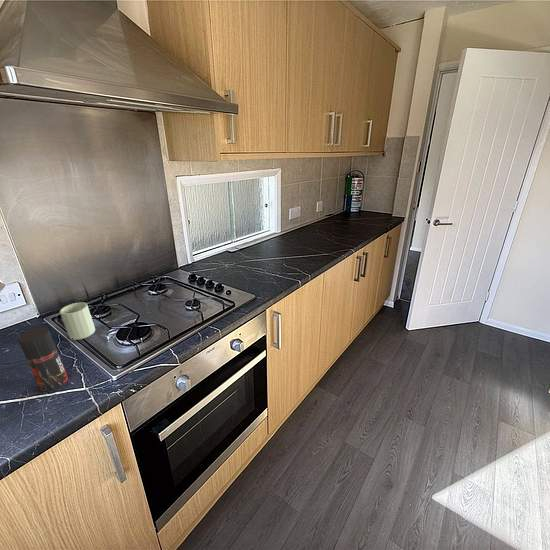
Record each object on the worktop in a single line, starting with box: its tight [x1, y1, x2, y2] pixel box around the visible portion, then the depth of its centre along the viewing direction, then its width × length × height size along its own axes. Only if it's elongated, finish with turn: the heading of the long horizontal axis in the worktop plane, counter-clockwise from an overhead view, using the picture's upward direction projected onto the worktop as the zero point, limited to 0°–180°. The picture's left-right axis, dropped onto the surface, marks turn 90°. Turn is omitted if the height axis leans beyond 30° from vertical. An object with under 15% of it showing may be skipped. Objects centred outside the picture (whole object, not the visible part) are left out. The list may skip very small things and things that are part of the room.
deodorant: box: [17, 326, 69, 392], centre depth 73 cm, size 6×6×15 cm
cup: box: [59, 301, 96, 341], centre depth 94 cm, size 7×7×10 cm
